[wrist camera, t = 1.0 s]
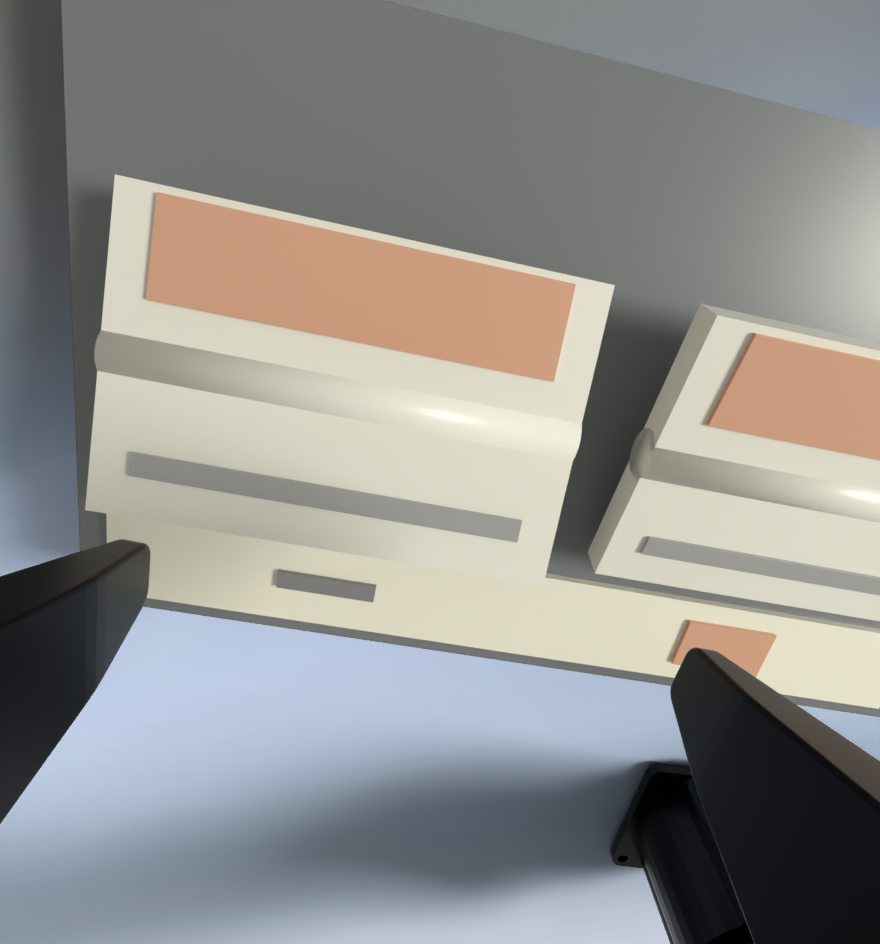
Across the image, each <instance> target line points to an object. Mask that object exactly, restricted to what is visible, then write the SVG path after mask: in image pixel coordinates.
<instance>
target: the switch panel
mask: <svg viewBox="0 0 880 944" xmlns="http://www.w3.org/2000/svg"><path fill="white" fill-rule="evenodd" d="M61 9H62V39H63V68H64V97H65V126H66V155H67V185H68V214H69V243H70V272H71V302H72V331H73V360H74V389H75V418H76V448H77V477H78V506H79V535H80V551H83V550H87V549H90V548H93V547H96V546H99V545H103V544H106V543H109V542H112V541H115V540H119V539H125V540H131V541H136V542H141V543H145V544H147V545H148V546H149V548H150V572H149V589H148V594H147V598H146V601H145V603H144V605H143V606H144V607H150V608H157V609H164V610H170V611H177V612H183V613H190V614H197V615H203V616H210V617H217V618H223V619H230V620H237V621H243V622H250V623H257V624H263V625H270V626H277V627H283V628H290V629H297V630H303V631H310V632H317V633H323V634H330V635H337V636H343V637H350V638H357V639H363V640H370V641H377V642H383V643H390V644H397V645H403V646H410V647H417V648H423V649H430V650H437V651H443V652H450V653H457V654H463V655H470V656H477V657H483V658H490V659H497V660H503V661H510V662H517V663H523V664H530V665H537V666H543V667H550V668H556V669H563V670H570V671H576V672H583V673H590V674H596V675H603V676H610V677H616V678H623V679H630V680H636V681H643V682H650V683H656V684H663V685H670V686H671V685H672V682H673V680H674V678H675V676H676V674H677V672H678V670H679V668H680V666H681V664H682V662H683V660H684V657H685V655H686V654H687V652H688V651H689V650H690V649H692V648H694V647H697V648H703V649H709V650H714V651H717V652H719V653H720V654H722V655H723V656H725V657H726V658H728V659H729V660H731V661H732V662H734V663H735V664H737V665H738V666H740V667H741V668H742V669H744V670H745V671H747V672H748V673H750V674H751V675H753V676H754V677H756V678H757V679H759V680H760V681H762V682H763V683H765V684H766V685H768V686H769V687H771V688H772V689H774V690H775V691H776V692H778V693H779V694H781V695H782V696H784V697H785V698H787V699H788V700H790V701H791V702H793V703H794V704H796V705H803V706H810V707H816V708H823V709H830V710H836V711H843V712H850V713H856V714H863V715H870V716H876V717H880V621H874V620H868V619H862V618H857V617H851V616H845V615H839V614H833V613H827V612H821V611H815V610H809V609H803V608H797V607H791V606H785V605H779V604H773V603H767V602H762V601H756V600H750V599H744V598H738V597H732V596H726V595H720V594H714V593H708V592H702V591H696V590H690V589H684V588H678V587H673V586H667V585H661V584H655V583H649V582H643V581H637V580H631V579H625V578H619V577H613V576H607V575H601V574H595V573H594V570H593V566H592V563H591V560H590V557H589V554H588V550H589V548H590V546H591V543H592V541H593V539H594V537H595V535H596V532H597V530H598V528H599V526H600V524H601V521H602V519H603V517H604V515H605V513H606V510H607V508H608V506H609V504H610V502H611V499H612V497H613V495H614V493H615V491H616V488H617V486H618V484H619V482H620V480H621V477H622V475H623V473H624V471H625V469H626V466H627V464H628V462H629V460H630V454H631V449H632V446H633V443H634V441H635V439H636V437H637V435H638V434H639V433H640V432H641V431H642V430H643V429H644V427H645V424H646V422H647V420H648V418H649V416H650V413H651V411H652V409H653V407H654V405H655V402H656V400H657V398H658V396H659V394H660V391H661V389H662V387H663V385H664V383H665V380H666V378H667V376H668V374H669V372H670V369H671V367H672V365H673V363H674V360H675V358H676V356H677V354H678V352H679V349H680V347H681V345H682V343H683V341H684V338H685V336H686V334H687V332H688V330H689V327H690V325H691V323H692V321H693V319H694V316H695V314H696V312H697V310H698V308H699V305H700V304H705V305H709V306H714V307H718V308H723V309H727V310H732V311H736V312H741V313H745V314H750V315H754V316H759V317H763V318H768V319H773V320H777V321H782V322H786V323H791V324H795V325H800V326H804V327H809V328H813V329H818V330H822V331H827V332H831V333H836V334H840V335H845V336H849V337H854V338H858V339H863V340H867V341H872V342H876V343H880V130H877V129H873V128H869V127H865V126H862V125H858V124H854V123H850V122H846V121H843V120H839V119H835V118H831V117H827V116H824V115H820V114H816V113H812V112H808V111H805V110H801V109H797V108H793V107H789V106H786V105H782V104H778V103H774V102H770V101H767V100H763V99H759V98H755V97H751V96H747V95H744V94H740V93H736V92H732V91H728V90H725V89H721V88H717V87H713V86H709V85H706V84H702V83H698V82H694V81H690V80H687V79H683V78H679V77H675V76H671V75H668V74H664V73H660V72H656V71H652V70H649V69H645V68H641V67H637V66H633V65H629V64H626V63H622V62H618V61H614V60H610V59H607V58H603V57H599V56H595V55H591V54H588V53H584V52H580V51H576V50H572V49H569V48H565V47H561V46H557V45H553V44H550V43H546V42H542V41H538V40H534V39H531V38H527V37H523V36H519V35H515V34H511V33H508V32H504V31H500V30H496V29H492V28H489V27H485V26H481V25H477V24H473V23H470V22H466V21H462V20H458V19H454V18H451V17H447V16H443V15H439V14H435V13H432V12H428V11H424V10H420V9H416V8H413V7H409V6H405V5H401V4H397V3H393V2H390V1H386V0H61ZM115 174H116V175H120V176H125V177H129V178H134V179H138V180H143V181H147V182H152V183H156V184H161V185H165V186H170V187H174V188H179V189H183V190H188V191H192V192H197V193H201V194H206V195H210V196H215V197H219V198H224V199H228V200H233V201H237V202H242V203H246V204H251V205H255V206H260V207H264V208H269V209H273V210H278V211H283V212H287V213H292V214H296V215H301V216H305V217H310V218H314V219H319V220H323V221H328V222H332V223H337V224H341V225H346V226H350V227H355V228H359V229H364V230H368V231H373V232H377V233H382V234H386V235H391V236H395V237H400V238H404V239H409V240H413V241H418V242H422V243H427V244H431V245H436V246H440V247H445V248H449V249H454V250H458V251H463V252H467V253H472V254H476V255H481V256H485V257H490V258H494V259H499V260H504V261H508V262H513V263H517V264H522V265H526V266H531V267H535V268H540V269H544V270H549V271H553V272H558V273H562V274H567V275H571V276H576V277H580V278H585V279H589V280H594V281H598V282H603V283H607V284H612V285H615V287H614V291H613V295H612V299H611V304H610V308H609V312H608V316H607V320H606V325H605V329H604V333H603V337H602V341H601V345H600V350H599V354H598V358H597V362H596V366H595V371H594V375H593V379H592V383H591V387H590V392H589V396H588V400H587V404H586V408H585V412H584V417H583V421H582V433H581V440H580V444H579V448H578V451H577V454H576V456H575V458H574V460H573V463H572V467H571V471H570V475H569V479H568V484H567V488H566V492H565V496H564V500H563V505H562V509H561V513H560V517H559V521H558V525H557V530H556V534H555V538H554V542H553V546H552V551H551V555H550V559H549V563H548V567H547V572H546V576H545V580H544V584H543V585H537V584H531V583H525V582H518V581H512V580H506V579H500V578H494V577H488V576H482V575H476V574H470V573H464V572H458V571H452V570H446V569H440V568H433V567H427V566H421V565H415V564H409V563H403V562H397V561H391V560H385V559H379V558H373V557H367V556H361V555H355V554H348V553H342V552H336V551H330V550H324V549H318V548H312V547H306V546H300V545H294V544H288V543H282V542H276V541H270V540H263V539H257V538H251V537H245V536H239V535H233V534H227V533H221V532H215V531H209V530H203V529H197V528H191V527H185V526H178V525H172V524H166V523H160V522H154V521H148V520H142V519H136V518H130V517H124V516H118V515H112V514H106V513H100V512H94V511H87V510H85V505H86V494H87V482H88V471H89V460H90V449H91V437H92V426H93V415H94V404H95V392H96V381H97V369H96V365H95V359H94V351H95V344H96V340H97V337H98V335H99V333H100V331H101V325H102V313H103V302H104V291H105V280H106V268H107V257H108V246H109V234H110V223H111V212H112V201H113V189H114V178H115Z"/></svg>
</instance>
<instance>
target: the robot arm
mask: <svg viewBox="0 0 880 944" xmlns="http://www.w3.org/2000/svg"><path fill="white" fill-rule="evenodd" d="M149 572H150V548H149V546H148V545H147V544H145V543H141V542H136V541H131V540H125V539H119V540H115V541H112V542H109V543H106V544H103V545H99V546H96V547H93V548H90V549H87V550H83V551H80V552H77V553H74V554H71V555H68V556H64V557H61V558H58V559H55V560H52V561H48V562H45V563H42V564H39V565H36V566H32V567H29V568H26V569H23V570H20V571H16V572H13V573H10V574H7V575H4V576H1V577H0V824H1V822H2V821H3V819H4V818H5V817H6V815H7V814H8V812H9V811H10V810H11V808H12V807H13V805H14V804H15V803H16V801H17V800H18V798H19V797H20V796H21V794H22V793H23V791H24V790H25V789H26V787H27V786H28V784H29V783H30V782H31V780H32V779H33V777H34V776H35V775H36V773H37V772H38V771H39V769H40V768H41V766H42V765H43V764H44V762H45V761H46V759H47V758H48V757H49V755H50V754H51V752H52V751H53V750H54V748H55V747H56V745H57V744H58V743H59V741H60V740H61V738H62V737H63V736H64V734H65V733H66V731H67V730H68V729H69V727H70V726H71V724H72V723H73V722H74V720H75V719H76V717H77V716H78V715H79V713H80V712H81V710H82V709H83V708H84V706H85V705H86V703H87V702H88V700H89V699H90V697H91V696H92V694H93V693H94V692H95V690H96V688H97V687H98V685H99V683H100V682H101V680H102V678H103V677H104V675H105V673H106V671H107V670H108V668H109V666H110V664H111V662H112V661H113V659H114V657H115V655H116V653H117V652H118V650H119V648H120V646H121V645H122V643H123V641H124V639H125V637H126V636H127V634H128V632H129V630H130V628H131V627H132V625H133V623H134V621H135V620H136V618H137V616H138V614H139V612H140V611H141V609H142V607H143V605H144V603H145V601H146V598H147V594H148V589H149ZM670 693H671V701H672V704H673V708H674V711H675V715H676V719H677V722H678V726H679V730H680V733H681V737H682V741H683V744H684V748H685V752H686V755H687V759H688V763H689V766H690V768H684V767H676V766H669V765H662V764H656V765H653V766H651V767H650V768H649V769H648V770H647V772H646V774H645V776H644V778H643V780H642V782H641V785H640V787H639V789H638V791H637V793H636V796H635V798H634V800H633V802H632V804H631V806H630V809H629V811H628V813H627V815H626V817H625V819H624V822H623V824H622V826H621V828H620V830H619V833H618V835H617V837H616V839H615V841H614V843H613V846H612V848H611V851H610V853H611V856H612V859H613V862H614V863H615V864H616V865H620V866H629V867H638V868H643V869H644V871H645V874H646V877H647V880H648V883H649V885H650V888H651V891H652V894H653V897H654V899H655V902H656V905H657V908H658V911H659V913H660V916H661V919H662V922H663V924H664V927H665V930H666V933H667V936H668V938H669V941H670V944H880V761H879V760H877V759H876V758H874V757H873V756H871V755H870V754H868V753H867V752H865V751H864V750H862V749H861V748H859V747H858V746H856V745H855V744H853V743H852V742H850V741H849V740H847V739H846V738H845V737H843V736H842V735H840V734H839V733H837V732H836V731H834V730H833V729H831V728H830V727H828V726H827V725H825V724H824V723H822V722H821V721H819V720H818V719H816V718H815V717H813V716H812V715H810V714H809V713H808V712H806V711H805V710H803V709H802V708H800V707H799V706H797V705H796V704H794V703H793V702H791V701H790V700H788V699H787V698H785V697H784V696H782V695H781V694H779V693H778V692H776V691H775V690H774V689H772V688H771V687H769V686H768V685H766V684H765V683H763V682H762V681H760V680H759V679H757V678H756V677H754V676H753V675H751V674H750V673H748V672H747V671H745V670H744V669H742V668H741V667H740V666H738V665H737V664H735V663H734V662H732V661H731V660H729V659H728V658H726V657H725V656H723V655H722V654H720V653H719V652H717V651H714V650H709V649H703V648H697V647H694V648H692V649H690V650H689V651H688V652H687V654H686V655H685V657H684V660H683V662H682V664H681V666H680V668H679V670H678V672H677V674H676V676H675V678H674V680H673V682H672V685H671V692H670Z"/></svg>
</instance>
